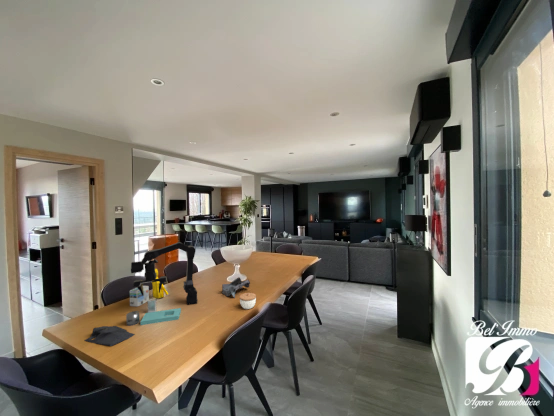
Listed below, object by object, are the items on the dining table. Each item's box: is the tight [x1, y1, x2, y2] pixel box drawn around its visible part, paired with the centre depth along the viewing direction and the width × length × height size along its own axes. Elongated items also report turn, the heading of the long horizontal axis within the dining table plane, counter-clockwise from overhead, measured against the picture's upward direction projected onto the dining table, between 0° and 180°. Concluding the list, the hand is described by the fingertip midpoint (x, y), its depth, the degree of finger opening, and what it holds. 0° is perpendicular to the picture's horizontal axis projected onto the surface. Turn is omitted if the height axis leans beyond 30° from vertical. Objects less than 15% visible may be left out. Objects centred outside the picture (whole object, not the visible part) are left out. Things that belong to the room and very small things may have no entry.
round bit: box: [125, 310, 141, 327], centre depth 131 cm, size 6×6×6 cm
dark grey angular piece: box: [221, 276, 251, 299], centre depth 175 cm, size 18×20×9 cm
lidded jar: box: [239, 292, 257, 310], centre depth 148 cm, size 11×11×9 cm
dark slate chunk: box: [84, 325, 136, 347], centre depth 118 cm, size 15×22×5 cm
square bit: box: [147, 297, 157, 313], centre depth 146 cm, size 4×4×8 cm
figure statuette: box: [151, 268, 169, 300], centre depth 169 cm, size 18×8×22 cm, turn 62°
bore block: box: [139, 307, 182, 326], centre depth 137 cm, size 20×11×2 cm, turn 106°
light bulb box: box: [129, 285, 150, 307], centre depth 160 cm, size 11×7×11 cm, turn 168°
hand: (151, 294), depth 147 cm, fingers open, 9 cm apart
